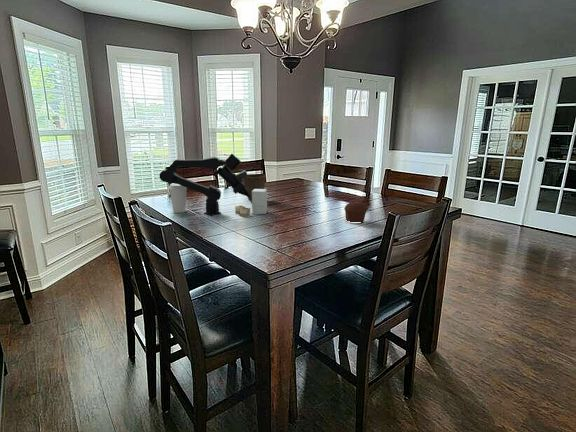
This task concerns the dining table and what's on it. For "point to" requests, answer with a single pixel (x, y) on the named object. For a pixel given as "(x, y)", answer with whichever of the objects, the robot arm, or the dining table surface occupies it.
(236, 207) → the marked block
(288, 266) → the dining table surface
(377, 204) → the dining table surface
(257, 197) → the supplement box
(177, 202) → the coffee cup
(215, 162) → the robot arm
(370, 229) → the dining table surface
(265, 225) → the dining table surface
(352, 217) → the muffin
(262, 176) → the plant pot
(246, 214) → the marked block
